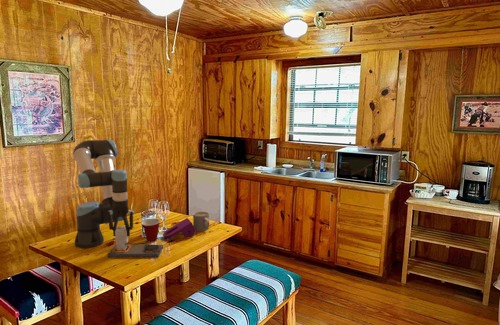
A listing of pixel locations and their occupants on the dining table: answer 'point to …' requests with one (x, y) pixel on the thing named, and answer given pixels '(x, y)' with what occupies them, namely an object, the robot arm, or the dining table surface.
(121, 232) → the peg
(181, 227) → the mounting bracket
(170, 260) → the dining table surface
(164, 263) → the dining table surface
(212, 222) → the dining table surface
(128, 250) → the grey peg board
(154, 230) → the plastic cup
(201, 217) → the coffee mug
